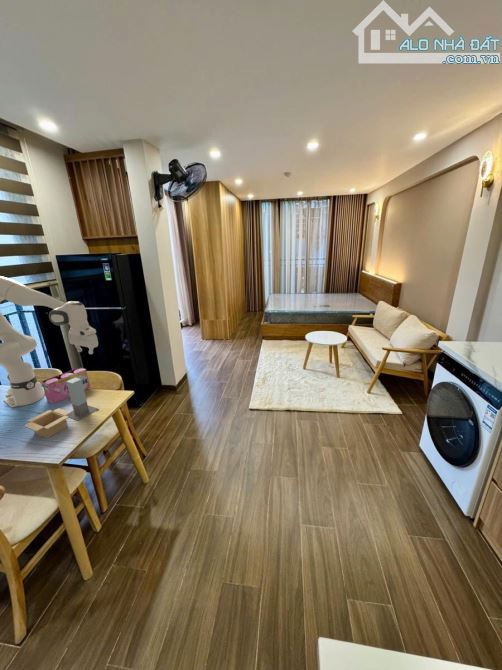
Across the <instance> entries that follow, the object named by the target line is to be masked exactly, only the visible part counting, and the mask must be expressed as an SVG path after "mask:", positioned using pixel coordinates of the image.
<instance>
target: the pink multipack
mask: <svg viewBox="0 0 502 670" xmlns="http://www.w3.org/2000/svg"><path fill="white" fill-rule="evenodd" d="M73 378H79V379H82V383H83V387H84V391H86V390H89V389H90V388H91V383H90V379H89V376H88V372H87V369H86V368H83V367H81V366H79V367H77V368H74V369H70V370H69V371H67V372H64V373H61V374H57V375H56V376H55V375H54V376H52V377H50V378H49V377H48V378H46V379H44V380H41V386H42V388H43V391H44V392H45V394H44V396H45V398H46V402H48V403H50V404H52V405H53V404H56V403H59V402H61V401H63V400H65V399H68V398H70V394H69V390H68V386H67V382H66V381H69V380H71V379H73Z"/></svg>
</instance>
